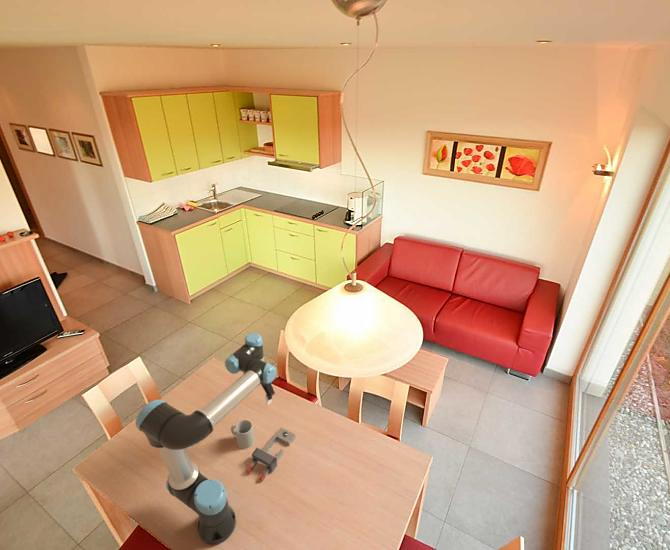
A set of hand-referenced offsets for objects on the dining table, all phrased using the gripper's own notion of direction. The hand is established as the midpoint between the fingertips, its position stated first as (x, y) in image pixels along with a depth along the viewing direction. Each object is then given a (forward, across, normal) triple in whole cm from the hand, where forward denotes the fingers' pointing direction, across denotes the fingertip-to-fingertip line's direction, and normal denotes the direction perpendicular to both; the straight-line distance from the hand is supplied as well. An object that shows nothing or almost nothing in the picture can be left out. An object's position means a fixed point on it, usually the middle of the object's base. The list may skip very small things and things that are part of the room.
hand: (259, 396), depth 190 cm
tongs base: (+26, -13, +6) cm, 30 cm away
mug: (+26, +5, +10) cm, 29 cm away
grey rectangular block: (+26, -14, +12) cm, 32 cm away
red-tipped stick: (+26, -18, +11) cm, 33 cm away
